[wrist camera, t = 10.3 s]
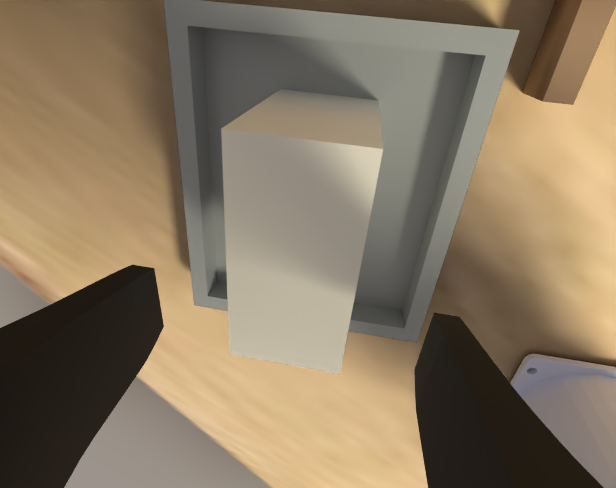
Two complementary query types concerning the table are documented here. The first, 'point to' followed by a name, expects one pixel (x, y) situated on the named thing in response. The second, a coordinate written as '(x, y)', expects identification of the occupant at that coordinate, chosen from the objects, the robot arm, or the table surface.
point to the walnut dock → (568, 49)
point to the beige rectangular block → (297, 223)
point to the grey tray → (350, 83)
